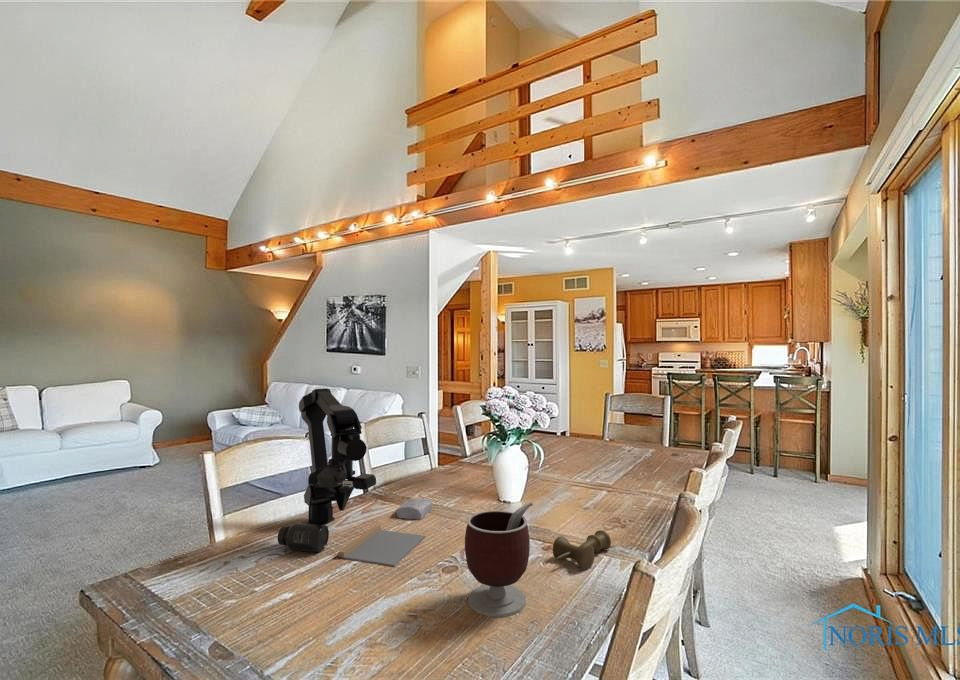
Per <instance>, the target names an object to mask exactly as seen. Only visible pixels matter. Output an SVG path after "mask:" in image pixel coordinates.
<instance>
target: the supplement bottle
mask: <svg viewBox="0 0 960 680" xmlns="http://www.w3.org/2000/svg"><path fill="white" fill-rule="evenodd" d="M329 537H330V532H329V527H328V525H327V524H326V525H324V524H310V523H305V522H295V523H293V524H292V525H283V526H281V528H280V529H279V530H278V534H277V539H276V540H277V543H278V545H280V546H287V548H288V549H289V550H292V551H301V552H302V551H303V552H313V553H315V552H316V553H318V552H319V553H320V552H322V551H324V550H325V548H326V547H327V544H328V541H329Z"/></svg>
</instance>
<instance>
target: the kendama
mask: <svg viewBox="0 0 960 680" xmlns="http://www.w3.org/2000/svg"><path fill="white" fill-rule="evenodd" d="M611 544H612V539H611V537H610V535H609V534H608V532H606V531H604V530H602V529H599V530H597V531H595V533H594V534H590V535H587V537H586V541H584V542H583V543H582V544H580V545H579V546H577V545H575V544H572V543H570V542H569V540H568V539H567V538H566V537H565V536H562V535H561V536H558V537H557V538H555V540H554V542H553V544H552V556H553V557H554V558H555V559H556V560H557V561H558V560H562V559H570V560H572V561H575V562H576V564H577V565H578V567H579V568H580V569H581V570H582V571H587V570H589V569H590V568H592V566H593V564H594V561H595V553H599V552H600V551H601V550H603V549H606V550H605V551H608V550H609V549H610V548H611V546H612V545H611ZM588 568H589V569H588ZM586 569H587V570H586Z"/></svg>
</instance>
